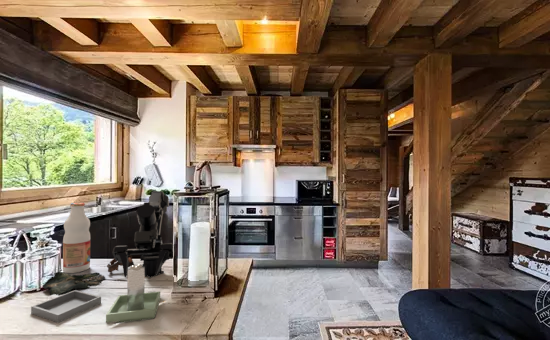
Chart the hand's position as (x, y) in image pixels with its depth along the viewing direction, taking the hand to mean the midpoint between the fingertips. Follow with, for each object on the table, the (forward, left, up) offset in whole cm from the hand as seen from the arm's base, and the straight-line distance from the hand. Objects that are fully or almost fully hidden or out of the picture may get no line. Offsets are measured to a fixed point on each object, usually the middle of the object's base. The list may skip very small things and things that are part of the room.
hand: (140, 275), depth 90 cm
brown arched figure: (-12, -30, -8) cm, 33 cm away
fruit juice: (-3, -48, -8) cm, 49 cm away
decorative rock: (+5, -30, -8) cm, 32 cm away
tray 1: (+15, -12, -8) cm, 21 cm away
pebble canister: (+5, +5, -7) cm, 10 cm away
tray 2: (+5, +5, -8) cm, 11 cm away
